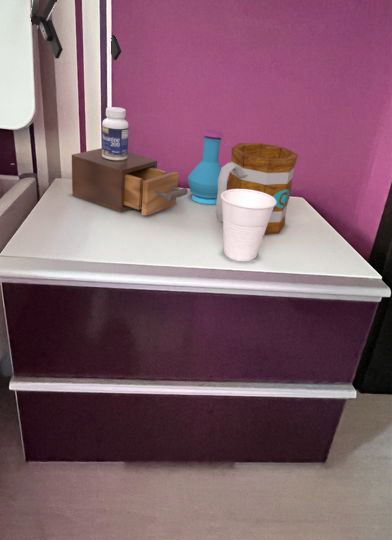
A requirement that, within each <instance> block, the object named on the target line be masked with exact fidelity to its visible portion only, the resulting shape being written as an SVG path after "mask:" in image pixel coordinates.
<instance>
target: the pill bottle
mask: <svg viewBox="0 0 392 540" xmlns="http://www.w3.org/2000/svg"><path fill="white" fill-rule="evenodd" d="M105 116H106V118H104V119H103V120H102V126H101V127H102V129H101V130H102V131H101V134H102V135H101V148H102V156H103V157H104V158H106V159H109V160H115V161H120V160H125V159H127V155H128V152H129V131H130V130H129V129H130V127H129V121H127V120H126V119H125V118H126V117H127V111H126V109H125V108H123V107H118V106H109V107H106V108H105Z"/></svg>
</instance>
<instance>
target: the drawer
mask: <svg viewBox="0 0 392 540" xmlns="http://www.w3.org/2000/svg"><path fill="white" fill-rule="evenodd" d="M179 173H180V172H178V171H171V172H167V171H166V170H163V169H159V168H157V169H156V168H153V167H148V168H144V169H140V170H137V171H133V172H130V173H126V174H124V204H123V205H126V206H129V207H132V209H135V210H138V211H139V210H141V215H143V216H145V217H147V216H149V215H152V214H154V213H157V212H160V211H162V210H165V209H168V208H170V207H173V206H175V205H177V199H178V198H181V197H183V196H186V195H188V193H189V191H188V188H186V187H182V188H179V184H178V183H179Z"/></svg>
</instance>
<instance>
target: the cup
mask: <svg viewBox="0 0 392 540" xmlns="http://www.w3.org/2000/svg"><path fill="white" fill-rule="evenodd" d="M221 198H222V213H223V222H222V233H223V234H222V235H223V236H222V237H223V253H224V255H225V256H226V257H227V258H228V259H231V260H233V261H237V262H250V261H253V260H254V259H256V258H257V256H258V254H259V250H260V247H261V245H262V241H263V240H264V236H265V235H264V233H265V230H266V228H267V225H268V222H269V220H270V217H271V214H272V211H273V208H274V206H275V205H276V200H275V198H273V197H272V196H270V195H268V194H266V193H263V192H259V191H255V190H249V189H231V190H227V189H226V191H224V192H222V193H221Z"/></svg>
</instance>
